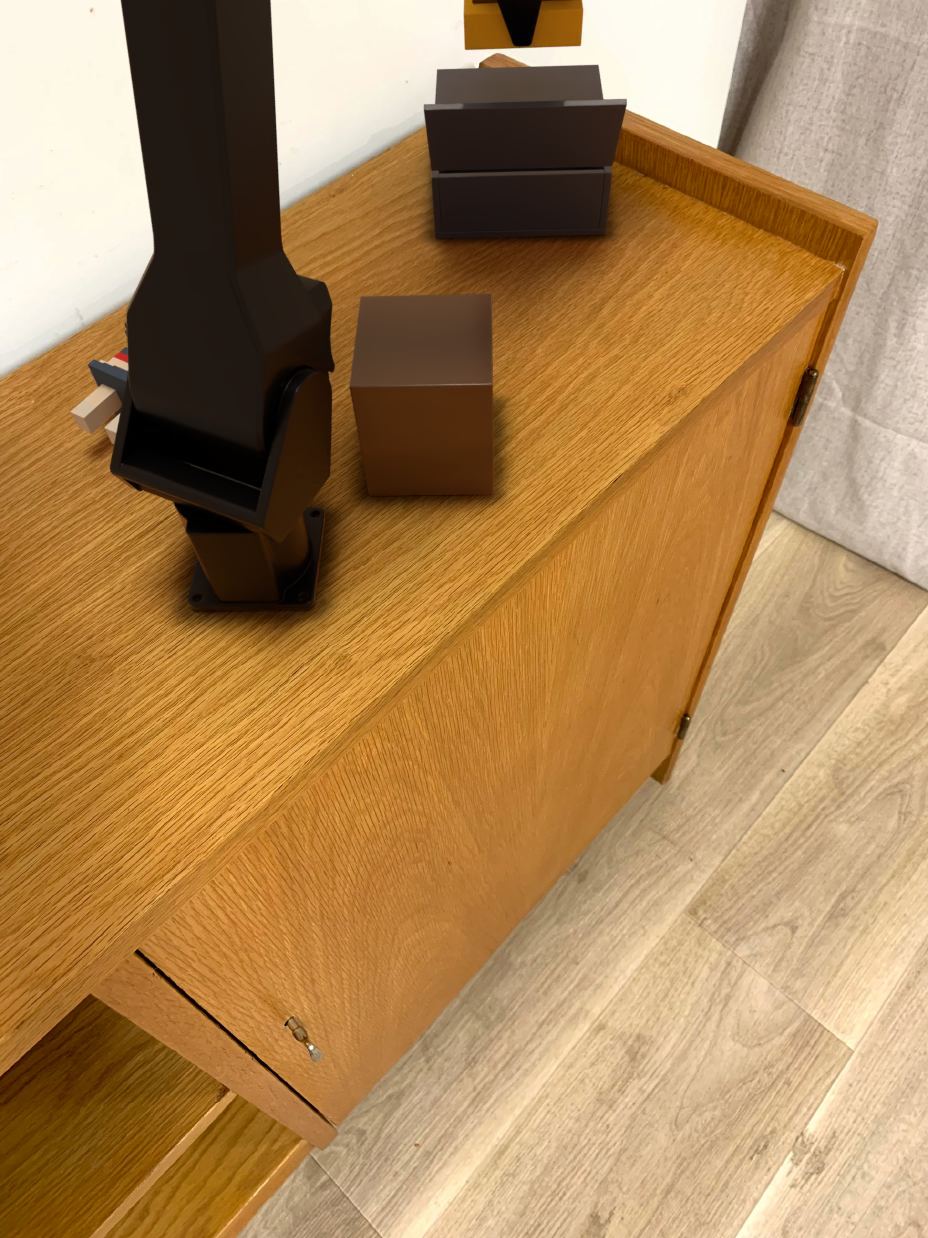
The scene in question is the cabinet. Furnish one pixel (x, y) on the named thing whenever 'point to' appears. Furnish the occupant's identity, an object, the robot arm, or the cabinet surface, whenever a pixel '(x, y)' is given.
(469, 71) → the case
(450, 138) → the flap
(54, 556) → the cabinet surface
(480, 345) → the stand
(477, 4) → the duster
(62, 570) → the cabinet surface
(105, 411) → the figurine
